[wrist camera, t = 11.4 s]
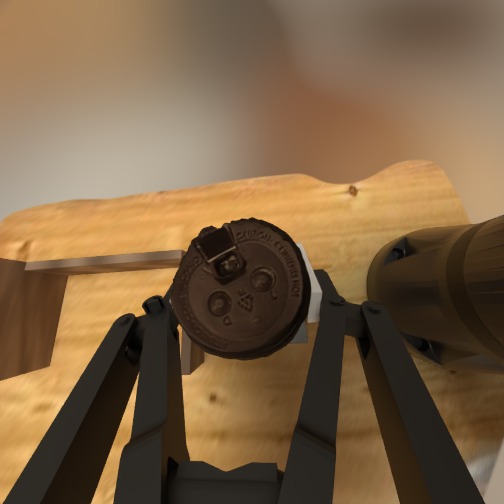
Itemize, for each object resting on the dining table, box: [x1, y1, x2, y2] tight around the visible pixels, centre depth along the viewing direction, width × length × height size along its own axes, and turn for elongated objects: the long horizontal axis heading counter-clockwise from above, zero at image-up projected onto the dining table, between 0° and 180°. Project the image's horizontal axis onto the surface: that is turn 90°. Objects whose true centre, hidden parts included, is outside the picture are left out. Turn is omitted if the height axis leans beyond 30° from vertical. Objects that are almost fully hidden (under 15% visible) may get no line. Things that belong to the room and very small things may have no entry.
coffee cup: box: [170, 217, 311, 360], centre depth 16 cm, size 9×8×13 cm
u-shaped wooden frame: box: [0, 250, 204, 381], centre depth 21 cm, size 22×13×8 cm, turn 93°
